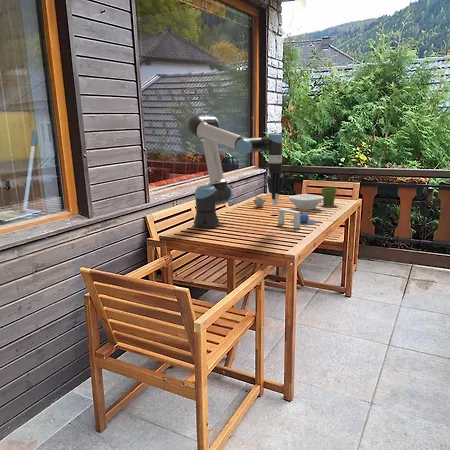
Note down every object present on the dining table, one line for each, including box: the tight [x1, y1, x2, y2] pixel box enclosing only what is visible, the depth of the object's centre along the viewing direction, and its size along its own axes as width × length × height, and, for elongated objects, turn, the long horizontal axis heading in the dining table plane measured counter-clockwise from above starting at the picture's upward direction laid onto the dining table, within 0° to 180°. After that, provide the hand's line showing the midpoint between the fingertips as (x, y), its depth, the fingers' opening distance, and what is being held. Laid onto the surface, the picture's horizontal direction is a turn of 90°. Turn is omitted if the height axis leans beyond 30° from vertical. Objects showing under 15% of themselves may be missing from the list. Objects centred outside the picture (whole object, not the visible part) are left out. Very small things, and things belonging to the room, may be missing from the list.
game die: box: [253, 195, 266, 208], centre depth 296 cm, size 9×8×10 cm
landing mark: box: [289, 218, 321, 226], centre depth 249 cm, size 13×13×1 cm
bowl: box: [288, 193, 324, 211], centre depth 285 cm, size 21×21×9 cm
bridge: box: [277, 207, 301, 229], centre depth 240 cm, size 3×14×9 cm, turn 37°
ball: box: [300, 212, 310, 222], centre depth 247 cm, size 6×6×6 cm
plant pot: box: [320, 187, 338, 206], centre depth 298 cm, size 12×12×11 cm
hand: (275, 204), depth 231 cm, fingers closed
